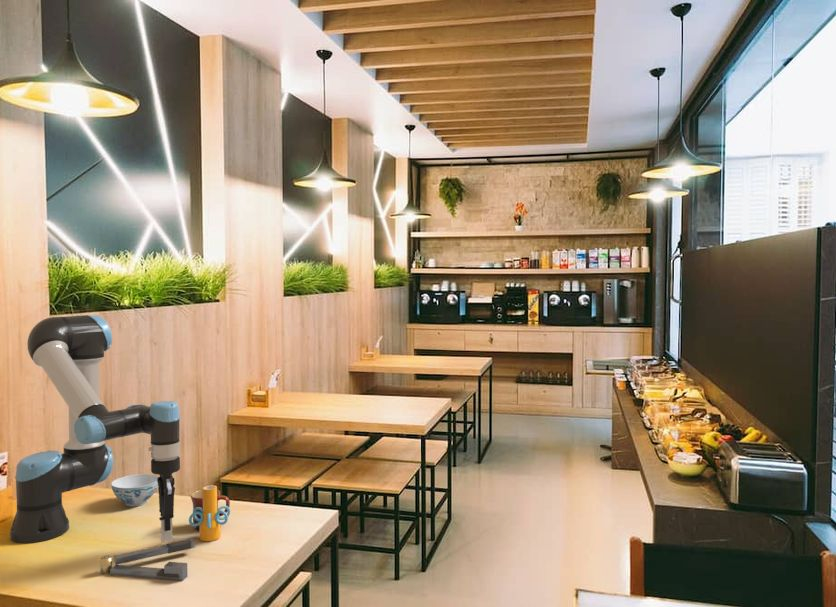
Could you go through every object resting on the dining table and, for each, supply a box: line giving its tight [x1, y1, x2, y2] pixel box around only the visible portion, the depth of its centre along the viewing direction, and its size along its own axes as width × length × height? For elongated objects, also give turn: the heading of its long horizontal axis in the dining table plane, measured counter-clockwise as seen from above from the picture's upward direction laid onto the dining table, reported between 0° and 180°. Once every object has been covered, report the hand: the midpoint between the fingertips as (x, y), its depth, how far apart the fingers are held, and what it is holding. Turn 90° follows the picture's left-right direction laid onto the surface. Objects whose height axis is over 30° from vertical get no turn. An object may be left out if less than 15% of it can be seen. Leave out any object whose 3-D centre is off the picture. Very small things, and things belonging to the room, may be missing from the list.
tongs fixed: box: [99, 555, 188, 582], centre depth 161 cm, size 23×3×4 cm, turn 81°
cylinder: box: [188, 484, 231, 542], centre depth 185 cm, size 12×10×15 cm
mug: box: [189, 489, 231, 530], centre depth 194 cm, size 12×9×10 cm
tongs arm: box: [113, 538, 196, 566], centre depth 170 cm, size 20×3×2 cm, turn 123°
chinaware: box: [110, 473, 159, 508], centre depth 214 cm, size 15×15×8 cm
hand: (166, 540), depth 176 cm, fingers closed
